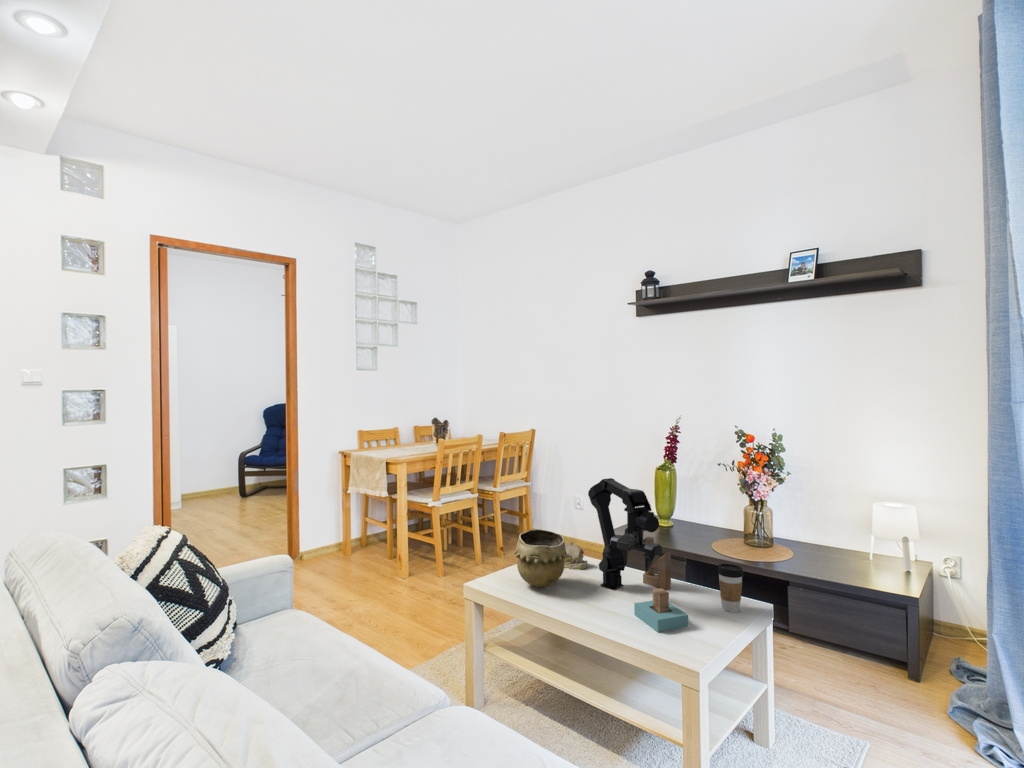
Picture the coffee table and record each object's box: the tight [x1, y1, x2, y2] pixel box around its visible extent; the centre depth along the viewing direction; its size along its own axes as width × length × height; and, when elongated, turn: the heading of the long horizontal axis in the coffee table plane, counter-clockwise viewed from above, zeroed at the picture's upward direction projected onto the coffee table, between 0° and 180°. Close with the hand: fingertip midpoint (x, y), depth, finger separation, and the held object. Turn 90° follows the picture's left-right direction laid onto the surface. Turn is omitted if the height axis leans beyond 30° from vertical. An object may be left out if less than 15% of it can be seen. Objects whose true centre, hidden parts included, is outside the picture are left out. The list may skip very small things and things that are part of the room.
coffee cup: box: [717, 563, 744, 613], centre depth 192 cm, size 8×8×15 cm
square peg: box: [652, 588, 670, 614], centre depth 183 cm, size 4×4×10 cm
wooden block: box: [642, 536, 672, 591], centre depth 215 cm, size 4×11×18 cm, turn 39°
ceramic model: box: [564, 541, 588, 570], centre depth 240 cm, size 14×11×10 cm
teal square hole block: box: [633, 599, 689, 633], centre depth 183 cm, size 14×12×4 cm
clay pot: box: [513, 528, 567, 588], centre depth 216 cm, size 21×21×20 cm
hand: (635, 568), depth 200 cm, fingers open, 9 cm apart
